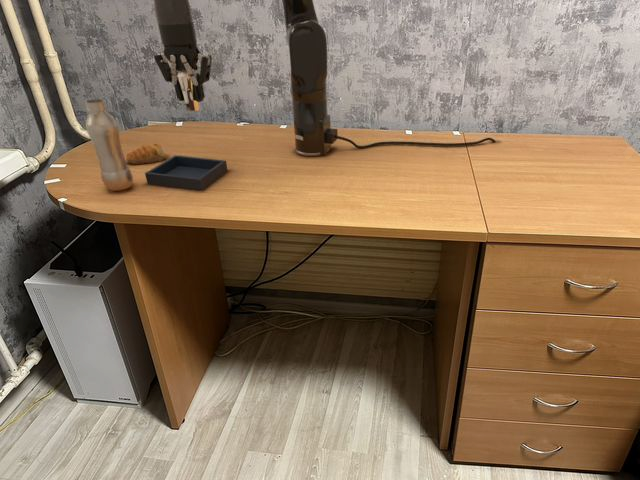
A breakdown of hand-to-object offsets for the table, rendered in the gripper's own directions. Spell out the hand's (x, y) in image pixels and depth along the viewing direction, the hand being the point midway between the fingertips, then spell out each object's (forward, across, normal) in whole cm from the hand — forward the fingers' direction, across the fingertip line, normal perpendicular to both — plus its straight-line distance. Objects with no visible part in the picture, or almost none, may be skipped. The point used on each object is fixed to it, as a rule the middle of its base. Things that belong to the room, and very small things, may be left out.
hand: (191, 100), depth 115 cm
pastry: (+17, +17, -1) cm, 24 cm away
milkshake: (+2, 0, 0) cm, 2 cm away
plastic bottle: (+17, +12, +17) cm, 27 cm away
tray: (+17, 0, +7) cm, 18 cm away
